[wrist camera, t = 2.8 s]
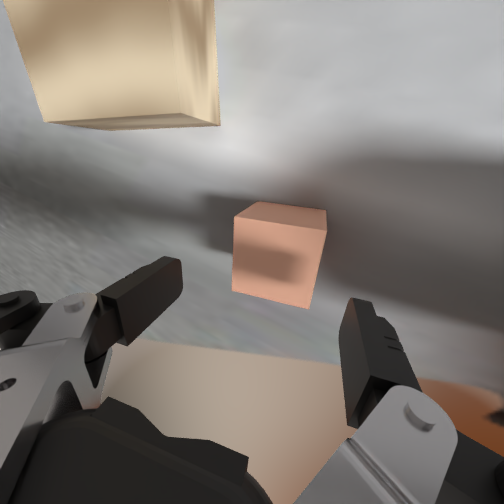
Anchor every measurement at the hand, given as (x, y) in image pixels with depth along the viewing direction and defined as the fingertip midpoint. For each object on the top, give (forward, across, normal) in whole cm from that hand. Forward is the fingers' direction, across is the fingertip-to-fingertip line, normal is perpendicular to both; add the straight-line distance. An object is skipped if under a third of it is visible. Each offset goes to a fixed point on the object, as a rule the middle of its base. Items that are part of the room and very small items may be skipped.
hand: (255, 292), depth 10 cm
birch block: (+8, +11, -12) cm, 18 cm away
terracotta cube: (+8, 0, 0) cm, 8 cm away
